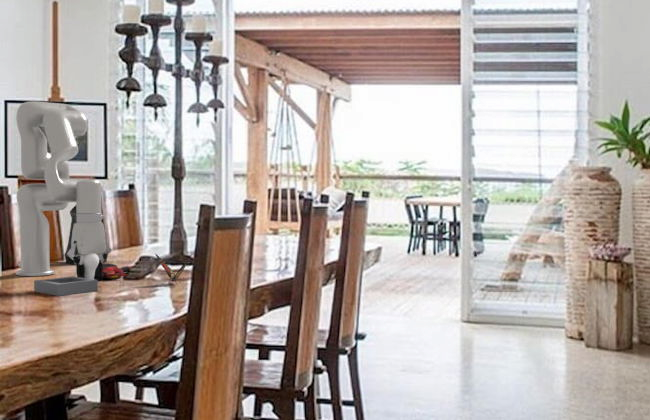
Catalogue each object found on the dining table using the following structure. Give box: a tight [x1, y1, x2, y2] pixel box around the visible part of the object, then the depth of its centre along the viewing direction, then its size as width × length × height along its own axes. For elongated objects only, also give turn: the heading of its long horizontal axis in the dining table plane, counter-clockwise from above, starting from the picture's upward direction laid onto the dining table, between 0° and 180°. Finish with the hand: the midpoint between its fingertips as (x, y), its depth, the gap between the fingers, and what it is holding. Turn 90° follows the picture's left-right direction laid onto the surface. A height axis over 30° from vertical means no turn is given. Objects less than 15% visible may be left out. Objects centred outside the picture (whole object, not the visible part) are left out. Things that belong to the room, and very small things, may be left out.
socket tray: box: [33, 275, 99, 297], centre depth 226 cm, size 13×13×3 cm
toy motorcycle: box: [81, 262, 133, 282], centre depth 259 cm, size 25×5×16 cm
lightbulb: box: [83, 253, 99, 279], centre depth 239 cm, size 6×6×11 cm
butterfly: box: [155, 253, 192, 286], centre depth 241 cm, size 12×10×10 cm
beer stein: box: [64, 205, 109, 265], centre depth 303 cm, size 16×19×25 cm
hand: (89, 275), depth 239 cm, fingers closed on lightbulb, 5 cm apart
